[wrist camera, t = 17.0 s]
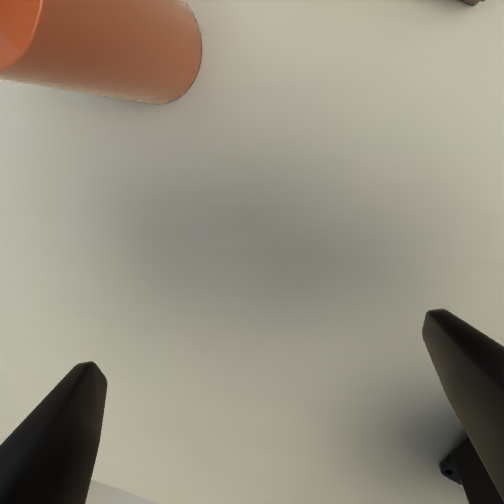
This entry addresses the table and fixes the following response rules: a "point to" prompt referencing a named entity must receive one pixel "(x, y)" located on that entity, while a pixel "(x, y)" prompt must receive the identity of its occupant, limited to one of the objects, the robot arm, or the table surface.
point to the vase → (101, 47)
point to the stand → (472, 2)
